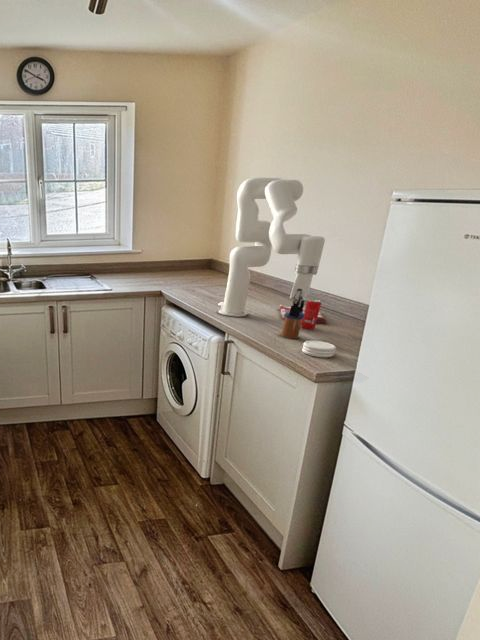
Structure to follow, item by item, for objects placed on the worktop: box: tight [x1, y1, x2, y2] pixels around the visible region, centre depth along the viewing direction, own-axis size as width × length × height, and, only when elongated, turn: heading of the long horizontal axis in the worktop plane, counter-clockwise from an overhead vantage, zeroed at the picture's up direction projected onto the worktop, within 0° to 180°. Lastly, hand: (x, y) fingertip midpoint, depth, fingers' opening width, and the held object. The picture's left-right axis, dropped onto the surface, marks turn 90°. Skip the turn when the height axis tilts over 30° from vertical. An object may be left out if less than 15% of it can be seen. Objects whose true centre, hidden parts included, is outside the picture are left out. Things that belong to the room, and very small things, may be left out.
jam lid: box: [285, 311, 305, 319], centre depth 181 cm, size 7×7×2 cm
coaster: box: [301, 340, 337, 359], centre depth 165 cm, size 10×10×4 cm
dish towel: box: [278, 304, 327, 324], centre depth 214 cm, size 17×23×3 cm
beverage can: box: [301, 299, 322, 331], centre depth 194 cm, size 5×5×12 cm
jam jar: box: [280, 317, 302, 340], centre depth 183 cm, size 6×6×10 cm
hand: (295, 314), depth 181 cm, fingers open, 7 cm apart
